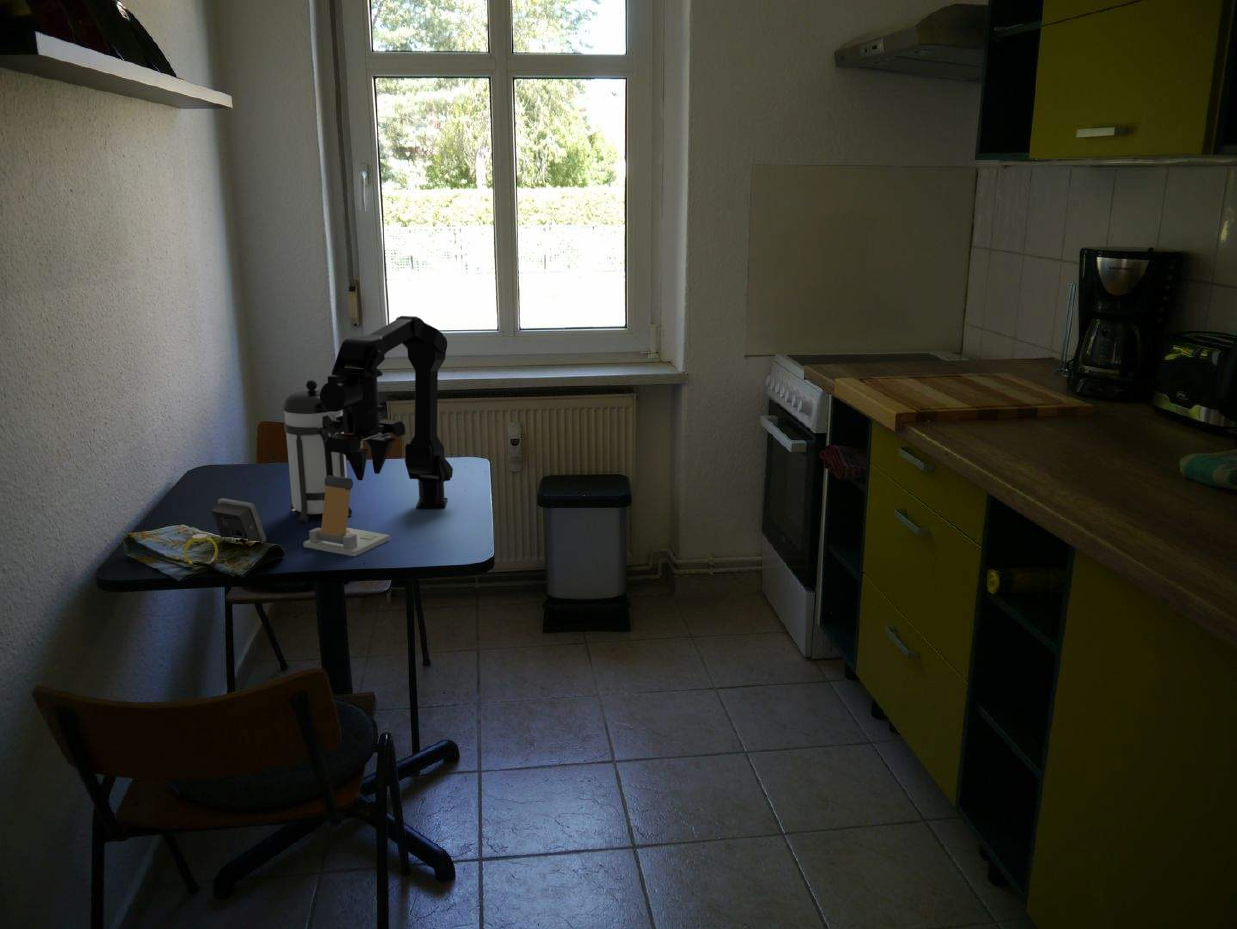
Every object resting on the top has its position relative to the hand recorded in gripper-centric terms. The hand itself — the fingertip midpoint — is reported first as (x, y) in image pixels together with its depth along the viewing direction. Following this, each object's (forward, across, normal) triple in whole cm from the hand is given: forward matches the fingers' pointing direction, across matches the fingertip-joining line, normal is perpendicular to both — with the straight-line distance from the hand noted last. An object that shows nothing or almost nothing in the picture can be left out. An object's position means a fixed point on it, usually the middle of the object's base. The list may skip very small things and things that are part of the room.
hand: (368, 476), depth 210 cm
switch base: (+13, +5, -2) cm, 14 cm away
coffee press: (+13, -8, -19) cm, 24 cm away
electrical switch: (+13, +15, -22) cm, 29 cm away
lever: (+10, +9, -2) cm, 14 cm away
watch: (+13, +27, -19) cm, 36 cm away
